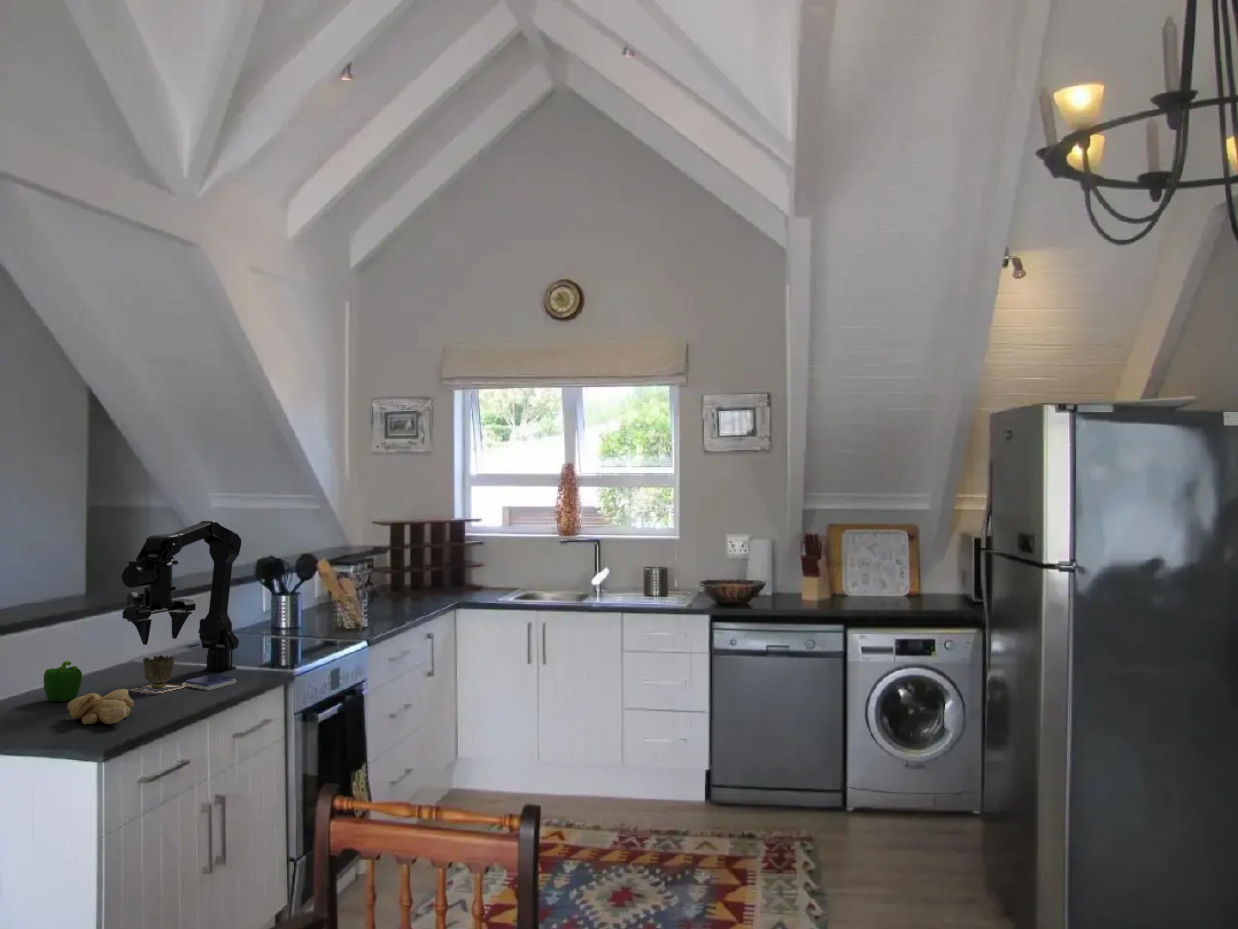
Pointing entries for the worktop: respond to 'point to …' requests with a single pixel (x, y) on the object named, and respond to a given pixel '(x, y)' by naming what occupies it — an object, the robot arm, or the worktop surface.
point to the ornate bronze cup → (158, 670)
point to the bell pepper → (62, 682)
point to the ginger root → (101, 707)
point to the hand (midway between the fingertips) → (159, 641)
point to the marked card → (158, 691)
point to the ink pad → (209, 682)
